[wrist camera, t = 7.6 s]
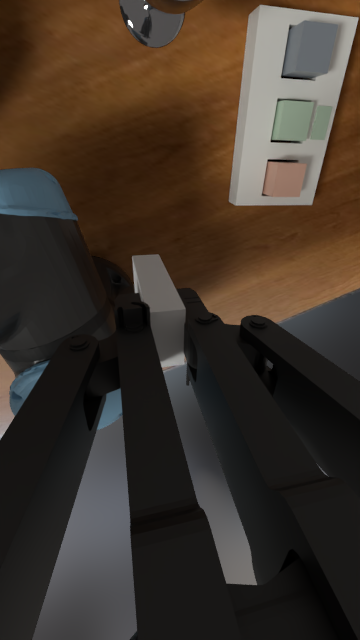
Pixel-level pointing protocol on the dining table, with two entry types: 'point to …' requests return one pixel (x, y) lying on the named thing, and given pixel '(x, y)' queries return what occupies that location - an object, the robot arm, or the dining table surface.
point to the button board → (269, 88)
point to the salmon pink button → (284, 179)
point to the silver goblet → (155, 19)
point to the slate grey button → (309, 49)
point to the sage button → (292, 120)
